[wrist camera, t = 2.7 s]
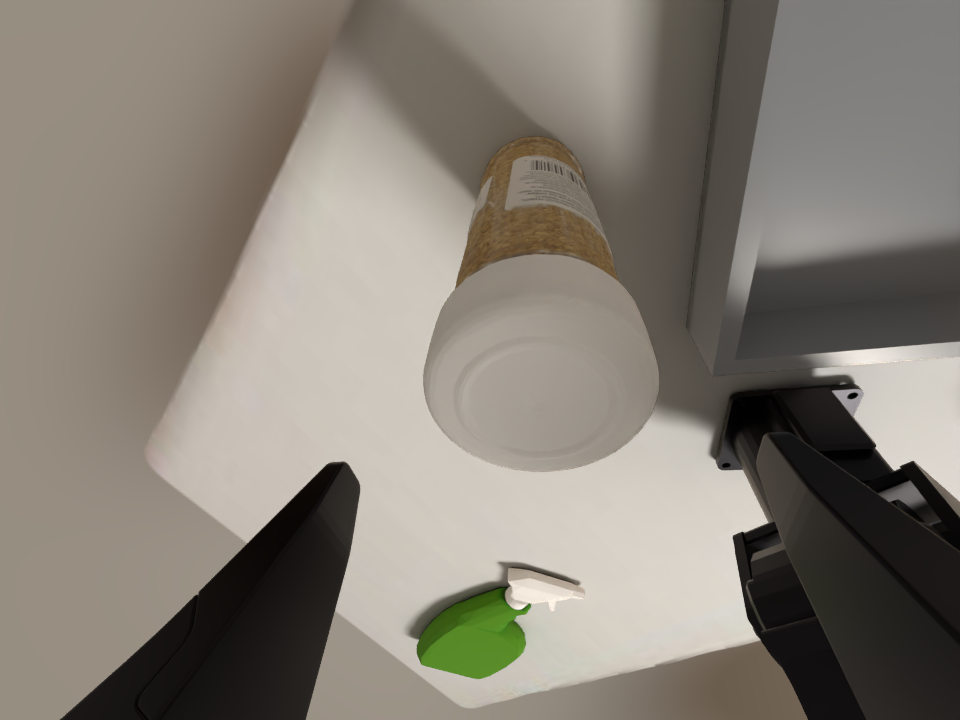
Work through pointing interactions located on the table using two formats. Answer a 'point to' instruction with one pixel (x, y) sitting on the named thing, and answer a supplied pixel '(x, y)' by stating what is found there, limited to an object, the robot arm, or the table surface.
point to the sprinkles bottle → (539, 325)
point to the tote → (831, 187)
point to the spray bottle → (489, 625)
